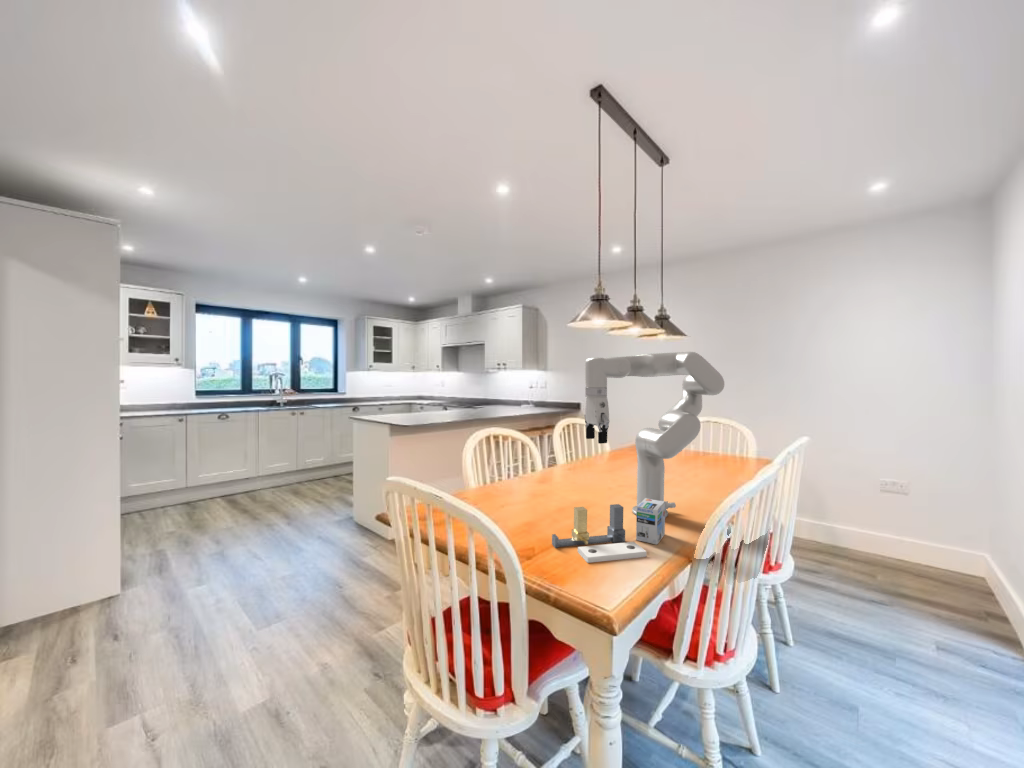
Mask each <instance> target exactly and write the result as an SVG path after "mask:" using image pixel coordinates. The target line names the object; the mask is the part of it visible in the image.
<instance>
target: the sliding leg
mask: <svg viewBox="0 0 1024 768" xmlns="http://www.w3.org/2000/svg"><path fill="white" fill-rule="evenodd" d="M589 537H590V532H588V509H587V508H585V506H575V507H574V508H573V529H571V538H574V539H575V540H576V541H583V542H584V543H585V544H586V545H589V544H588V541H587V540H589Z"/></svg>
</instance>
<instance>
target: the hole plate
mask: <svg viewBox="0 0 1024 768" xmlns="http://www.w3.org/2000/svg"><path fill="white" fill-rule="evenodd" d="M577 553H578V554H579V555H580V557H581V558H583V560H584V562H586V563H587V564H588V563H589V564H590V563H599V562H609V561H616V560H617V561H618V560H627V559H637V558H645V557H647V550H645V549H644V548H643V547H642V546H640V545H639V544H637V543H636V542H635V541H627V542H626V541H625V542H622V543H606V544H605V543H603V544H594V545H587V546H585V545H583V546H577Z"/></svg>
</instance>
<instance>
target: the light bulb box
mask: <svg viewBox="0 0 1024 768" xmlns="http://www.w3.org/2000/svg"><path fill="white" fill-rule="evenodd" d="M636 506H637V505H636ZM635 523H636V524H635V525H636V528H635V529H636V531H635V532H636V533H635V534H636V535H635V539H636V541H640V542H645V543H649V544H653V545H655V546H656V545H658V544H659V543H660V541H662V539H663V538H664V537H665V535H666V517H665V502H663V501H657V500H652V499H647V498H645V499H644V500H643V501H642V502H641V503H640V504H639V505H638V506H637V515H636V522H635Z"/></svg>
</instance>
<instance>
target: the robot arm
mask: <svg viewBox="0 0 1024 768" xmlns="http://www.w3.org/2000/svg"><path fill="white" fill-rule="evenodd" d="M584 362H585V365H584V366H585V368H584V370H585V372H584V373H585V374H584V375H585V377H584V378H585V379H584V380H585V385H584V386H585V387H584V389H585V394H584V396H585V398H586V399H585V414H584V422H585V425H584V426H585V438H586V440H588V439H589V440H591V439H595V437H596V435H595V434H596V433H595V431H596V430H595V426H596V427H597V428H598V431H597V443H598V444H608V432H609V425H610V406H609V401H608V379H609V378H611V379H612V378H613V379H623V378H625V377H640V378H657V377H668V376H669V377H670V376H672V377H673V376H684V378H683V380H682V395H681V398H680V399H679V401H677V402H676V403H675V404H674V405H673V406H672V407H671V408H669V409H668V410H667V411H666V412H665V413H664V414H663V415H661V417H659V420H658V422H657V423H658V428H659V429H658V428H653V427H645V428H642V429H641V430H639V431H638V432H637V434H636V436H635V441H634V443H635V450H636V455H637V457H636V458H637V468H636V469H637V470H636V471H637V472H636V473H637V475H636V476H637V477H636V480H637V481H636V505H635V506H632V509H631V510H632V513H633V514H634V515H635V516H637V506H638V505H639V504H640V503H641V502H642V501H643V500H644V499H645V498H647V499H652V500H657V501H663V502H665V518H667V517H668V516H669V511H668V509H675V508H676V507H677V506H676V502H674V501H673V502H669V501H666V500H665V471H666V469H665V460H669V459H672V458H674V457H676V456H677V455H679V453H680V452H682V451H683V450H684V449H686V447H687V446H688V445H690V444H691V443H692V442H693V441H694V440H695V439H696V438H697V437H698V436H699V433H700V431H701V420H700V418H699V417H698V416H699V415H700V414H701V412H702V411H703V410H702V409H703V396H717V395H719V394H721V393H722V392H723V390H724V388H725V380H724V378H723V377H724V376H722V374H721V373H720V371H718V369H716V368H715V367H714V366H713V365H712V364H711V363H710V362H709V361H708V360H707V359H706V358H704V356H702V355H700V354H699V353H698V352H696V351H685V352H684V351H681V352H680V351H677V352H661V353H660V352H659V353H658V352H657V353H646V354H645V353H643V354H638V355H629V356H608V357H588V358H586V359H585V361H584Z"/></svg>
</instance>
